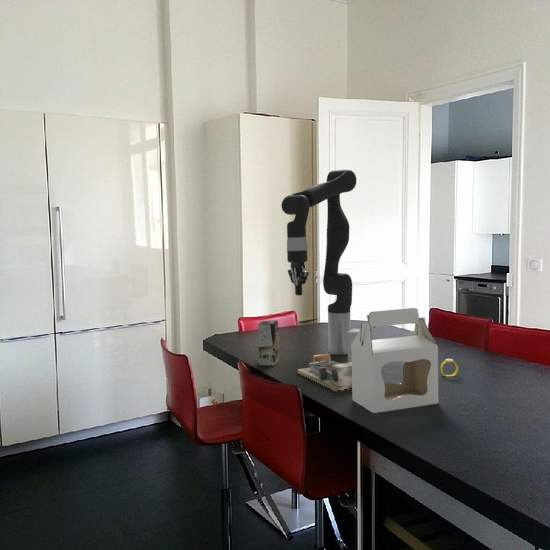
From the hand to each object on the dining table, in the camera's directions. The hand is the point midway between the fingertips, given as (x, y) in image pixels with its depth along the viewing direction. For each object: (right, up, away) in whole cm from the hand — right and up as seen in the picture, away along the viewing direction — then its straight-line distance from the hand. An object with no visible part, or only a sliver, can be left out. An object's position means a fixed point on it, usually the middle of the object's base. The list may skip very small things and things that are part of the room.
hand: (298, 295), depth 217 cm
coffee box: (-11, -27, +9) cm, 31 cm away
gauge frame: (+11, -29, -17) cm, 35 cm away
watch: (+51, -28, -18) cm, 61 cm away
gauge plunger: (+7, -26, -12) cm, 30 cm away
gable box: (+27, -31, -44) cm, 60 cm away
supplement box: (+24, -26, +5) cm, 36 cm away
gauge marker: (+7, -27, -23) cm, 36 cm away
